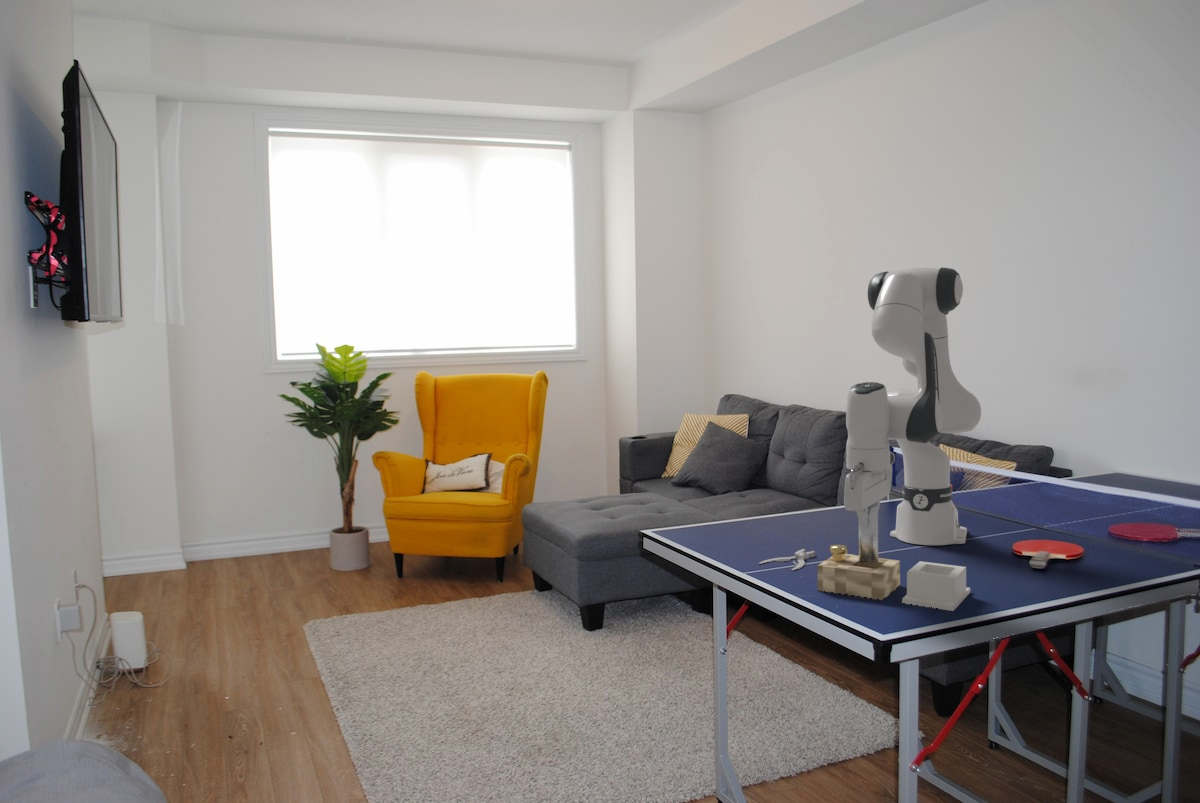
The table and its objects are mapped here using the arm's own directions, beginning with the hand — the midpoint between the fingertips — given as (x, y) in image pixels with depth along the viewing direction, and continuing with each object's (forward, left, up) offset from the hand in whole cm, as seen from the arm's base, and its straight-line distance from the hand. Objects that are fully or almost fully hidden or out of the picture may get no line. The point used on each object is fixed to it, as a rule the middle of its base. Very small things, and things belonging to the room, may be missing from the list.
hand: (868, 523), depth 194 cm
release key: (0, -7, -14) cm, 15 cm away
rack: (-1, +14, -14) cm, 20 cm away
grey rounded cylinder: (0, 0, -8) cm, 8 cm away
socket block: (0, -2, -14) cm, 14 cm away
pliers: (-13, -23, -15) cm, 30 cm away
